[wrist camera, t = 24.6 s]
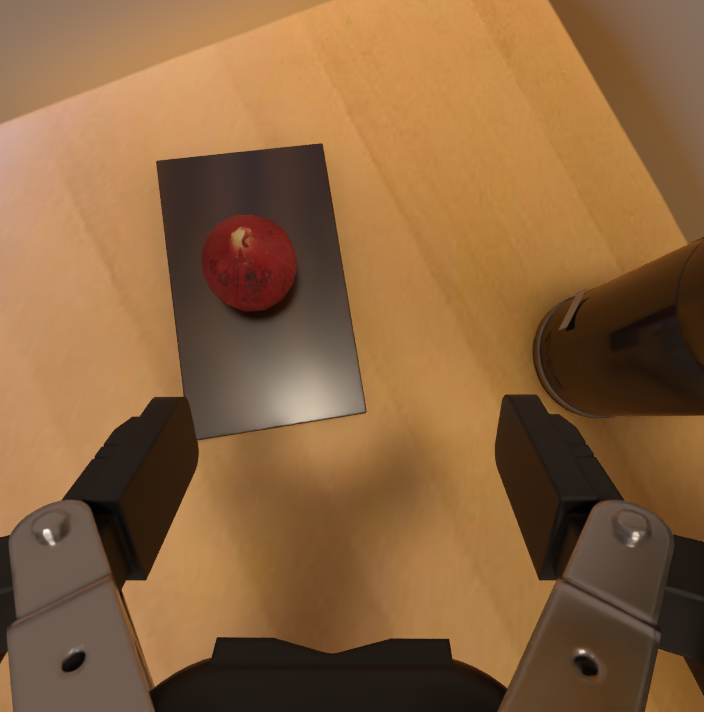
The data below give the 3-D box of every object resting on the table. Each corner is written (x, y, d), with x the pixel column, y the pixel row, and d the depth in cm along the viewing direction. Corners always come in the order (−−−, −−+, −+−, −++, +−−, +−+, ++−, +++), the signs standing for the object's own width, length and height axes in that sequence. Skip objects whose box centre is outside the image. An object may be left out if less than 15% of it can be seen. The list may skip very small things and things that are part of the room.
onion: (303, 317, 33) (299, 284, 25) (219, 326, 32) (188, 296, 24) (293, 237, 34) (287, 181, 26) (211, 245, 33) (179, 190, 25)
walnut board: (322, 156, 37) (322, 142, 35) (364, 413, 34) (366, 412, 32) (163, 173, 35) (155, 160, 34) (195, 440, 33) (188, 441, 31)
